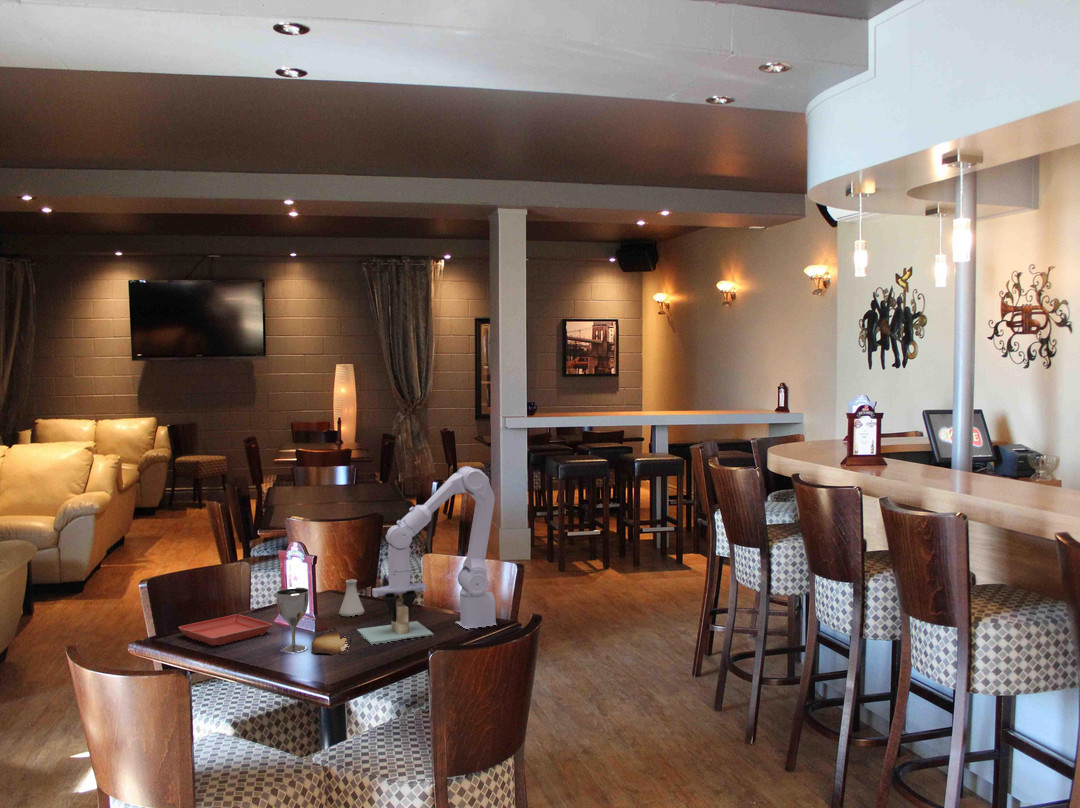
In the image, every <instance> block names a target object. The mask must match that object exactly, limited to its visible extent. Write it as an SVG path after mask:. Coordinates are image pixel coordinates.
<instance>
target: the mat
mask: <svg viewBox="0 0 1080 808" xmlns="http://www.w3.org/2000/svg"><path fill="white" fill-rule="evenodd" d="M357 631H358V632H359V633H360V634H361V635H360V634H359V633H358V632H357ZM356 632H357V633H358V634H359V635H360V637H362V638H363V639H364V640H365V639H366V640H367V641H368V642H369V643H370V644H371V645H370V644H369V643H368V642H367V641H366V640H365V641H366V642H367V643H368V644H369V645H370V646H374V645H373V644H376V645H380V644H379V643H383V644H388V643H387V642H390V643H392V642H391V641H397V640H401V639H407V638H414V637H421V636H429V635H433V636H434V632H432V631H431V630H430V629H428V628H427V627H426V626H425V625H422V623H420V622H419V621H418V620H416V621H409V632H408V633H407V634H400V635H399V634H398V633H397V632H395V631H394V630H393V629H392V624H387V625H386V624H385V625H378V626H370V627H363V628H357V629H356ZM397 642H398V641H397Z"/></svg>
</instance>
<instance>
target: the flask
mask: <svg viewBox="0 0 1080 808" xmlns="http://www.w3.org/2000/svg"><path fill="white" fill-rule="evenodd" d="M357 583H358V580H357V579H346V580H345V585H346V588H345V594H344V597H343V600H342V604H341V607H340V609H339V612H338V615H339V614H340V615H339V616H342V617H350V616H352V617H356V616H355V615H358V616H361V615H363V614H365V613H366V611H365V608H364V606H363V605H362V601H361V599H360V596H359V594H358V589H357ZM364 612H365V613H364Z"/></svg>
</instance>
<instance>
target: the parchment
mask: <svg viewBox="0 0 1080 808" xmlns="http://www.w3.org/2000/svg"><path fill="white" fill-rule="evenodd" d="M336 628H337V627H332V628H331V627H330V628H329V629H333V631H331V630H330V631H331V632H330V631H328V633H327V632H325V633H322V634H323V635H322V634H321V635H322V636H321V635H319V636H315V637H314V639H313V640H312V642H311V653H312V654H314V655H315V654H317V653H318V654H329V655H330V656H332V655H333V656H335V655H334V654H337V655H338V653H340V651H344V650H346V649H345V648H346V647H348V648H349V647H350V645H349V646H347V645H348V644H345V643H347V642H345V641H347V639H346V638H342V639H340V635H339V633H338V632H337V630H336Z"/></svg>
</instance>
